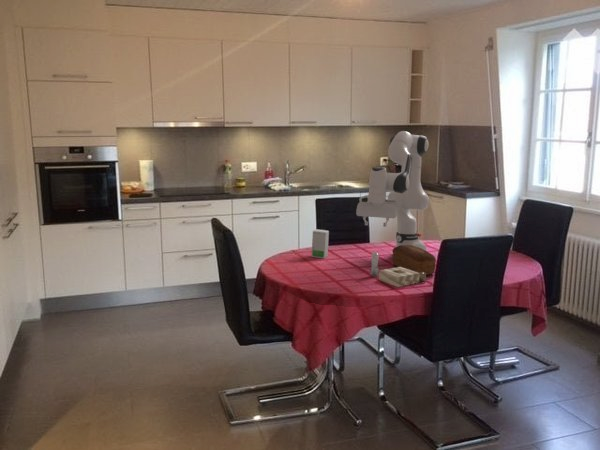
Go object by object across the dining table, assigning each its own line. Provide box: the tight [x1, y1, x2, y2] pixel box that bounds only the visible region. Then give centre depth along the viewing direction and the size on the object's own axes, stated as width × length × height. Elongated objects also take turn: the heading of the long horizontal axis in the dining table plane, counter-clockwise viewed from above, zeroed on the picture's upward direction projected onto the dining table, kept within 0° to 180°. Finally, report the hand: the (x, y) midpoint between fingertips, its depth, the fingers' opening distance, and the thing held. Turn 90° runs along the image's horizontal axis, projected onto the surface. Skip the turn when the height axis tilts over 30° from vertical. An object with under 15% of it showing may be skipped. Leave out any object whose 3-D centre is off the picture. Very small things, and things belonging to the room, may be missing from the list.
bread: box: [391, 245, 437, 276], centre depth 311 cm, size 14×28×12 cm, turn 21°
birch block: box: [378, 266, 420, 288], centre depth 289 cm, size 14×14×5 cm
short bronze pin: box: [419, 272, 427, 283], centre depth 289 cm, size 4×4×4 cm
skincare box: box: [311, 228, 330, 259], centre depth 336 cm, size 8×7×16 cm
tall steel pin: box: [370, 252, 380, 278], centre depth 298 cm, size 4×4×12 cm
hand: (375, 225), depth 294 cm, fingers open, 8 cm apart
